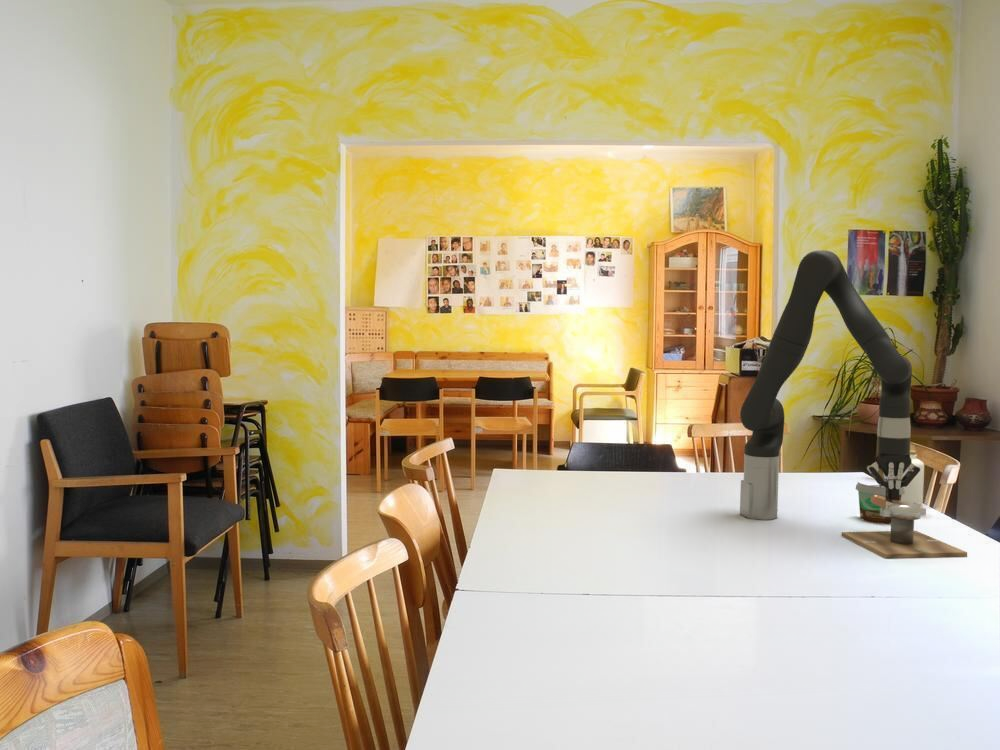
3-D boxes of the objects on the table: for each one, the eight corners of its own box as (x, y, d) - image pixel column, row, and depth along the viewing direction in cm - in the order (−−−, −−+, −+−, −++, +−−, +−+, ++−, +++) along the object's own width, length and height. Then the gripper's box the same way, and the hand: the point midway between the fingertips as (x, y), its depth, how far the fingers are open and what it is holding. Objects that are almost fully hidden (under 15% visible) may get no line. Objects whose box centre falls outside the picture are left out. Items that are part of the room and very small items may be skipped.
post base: (885, 558, 193) (886, 528, 192) (841, 535, 213) (842, 508, 212) (967, 556, 195) (968, 526, 194) (915, 534, 215) (916, 507, 214)
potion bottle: (915, 510, 241) (917, 448, 240) (927, 517, 233) (929, 453, 232) (885, 510, 242) (887, 448, 241) (895, 516, 234) (898, 452, 233)
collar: (934, 519, 200) (934, 506, 200) (891, 520, 199) (891, 507, 198) (892, 504, 216) (893, 492, 216) (852, 505, 214) (853, 493, 214)
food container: (852, 521, 229) (853, 484, 228) (854, 516, 234) (855, 481, 233) (902, 526, 223) (904, 489, 222) (903, 521, 228) (905, 485, 228)
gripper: (872, 436, 207) (871, 506, 208) (927, 436, 206) (925, 506, 207) (861, 432, 215) (859, 499, 216) (914, 432, 214) (912, 500, 215)
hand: (892, 503), depth 212 cm, fingers closed
